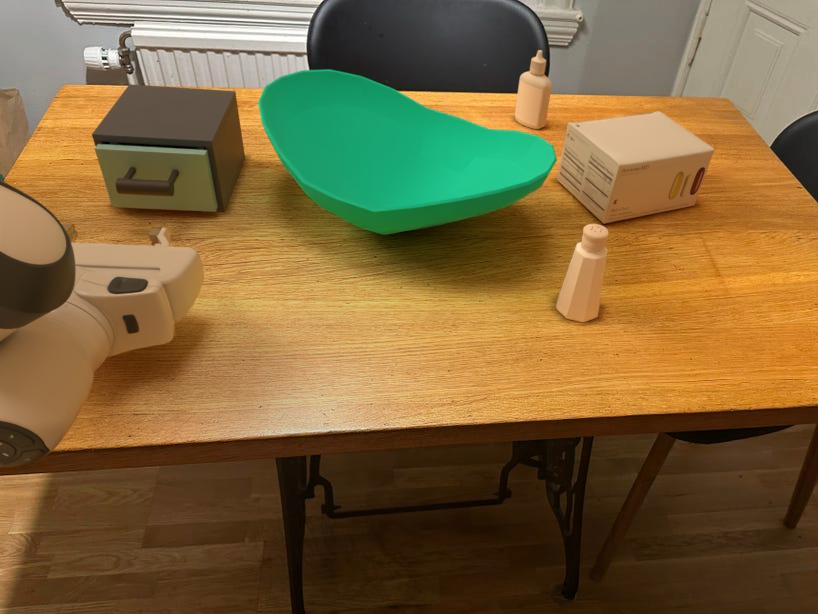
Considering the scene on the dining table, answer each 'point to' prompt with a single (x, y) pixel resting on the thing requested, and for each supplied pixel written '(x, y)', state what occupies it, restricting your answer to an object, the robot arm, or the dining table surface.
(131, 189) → the drawer
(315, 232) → the dining table surface
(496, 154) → the table top decor
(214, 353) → the dining table surface
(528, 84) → the eye dropper bottle
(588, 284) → the salt shaker
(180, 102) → the mini chest of drawers
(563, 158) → the supplement box
